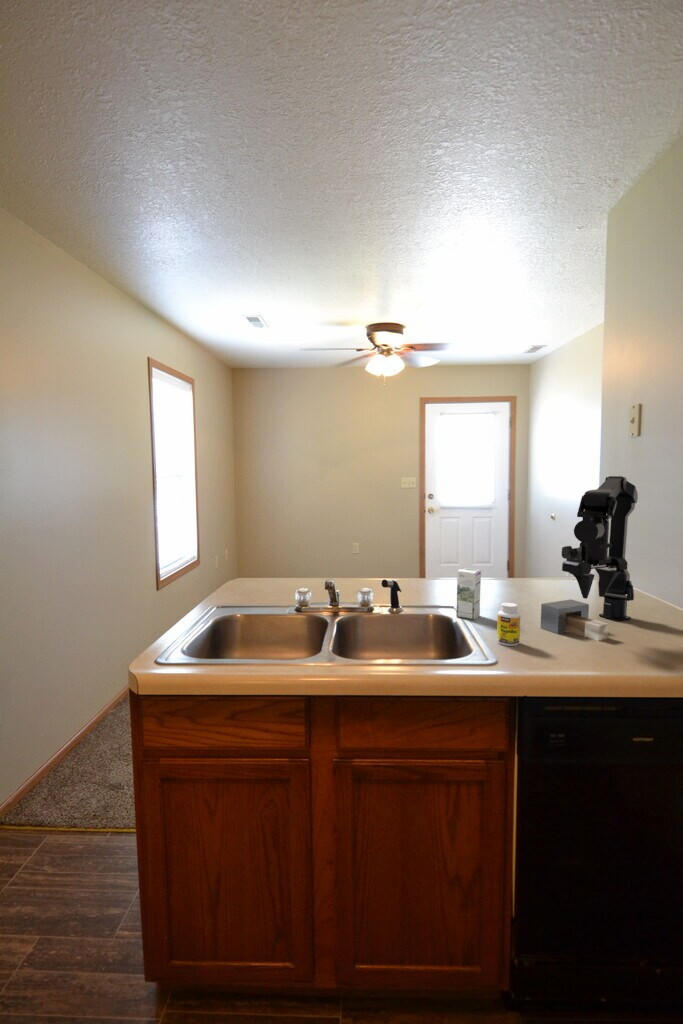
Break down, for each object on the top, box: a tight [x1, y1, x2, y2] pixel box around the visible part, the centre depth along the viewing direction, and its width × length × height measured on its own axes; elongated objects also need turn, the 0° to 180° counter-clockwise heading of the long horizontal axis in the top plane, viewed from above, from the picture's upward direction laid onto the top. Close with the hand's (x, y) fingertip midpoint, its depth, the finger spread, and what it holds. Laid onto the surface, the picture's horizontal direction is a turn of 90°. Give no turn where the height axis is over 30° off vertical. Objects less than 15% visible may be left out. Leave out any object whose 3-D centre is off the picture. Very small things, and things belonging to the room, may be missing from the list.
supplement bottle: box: [496, 602, 521, 647], centre depth 135 cm, size 6×6×10 cm
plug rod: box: [565, 613, 609, 641], centre depth 146 cm, size 4×16×4 cm, turn 31°
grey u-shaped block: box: [540, 599, 590, 635], centre depth 149 cm, size 12×6×7 cm, turn 116°
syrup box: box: [456, 567, 482, 620], centre depth 160 cm, size 6×6×14 cm
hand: (593, 597), depth 140 cm, fingers open, 6 cm apart
